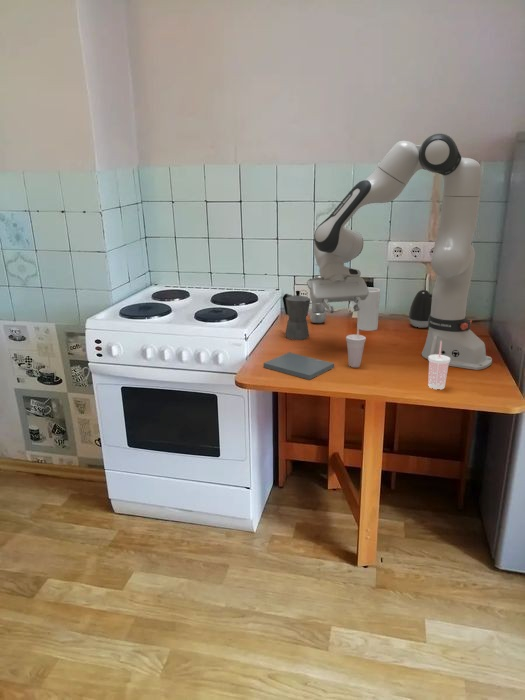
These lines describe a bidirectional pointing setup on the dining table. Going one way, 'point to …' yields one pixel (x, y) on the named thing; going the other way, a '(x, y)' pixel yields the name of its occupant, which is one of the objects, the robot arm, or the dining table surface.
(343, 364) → the dining table surface
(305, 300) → the coffeepot
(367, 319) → the cup
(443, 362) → the beverage cup
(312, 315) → the plastic bottle
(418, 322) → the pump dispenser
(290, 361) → the slate board
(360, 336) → the smoothie
